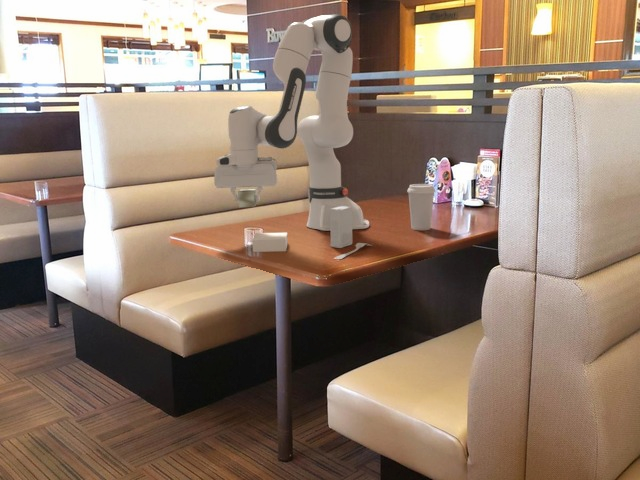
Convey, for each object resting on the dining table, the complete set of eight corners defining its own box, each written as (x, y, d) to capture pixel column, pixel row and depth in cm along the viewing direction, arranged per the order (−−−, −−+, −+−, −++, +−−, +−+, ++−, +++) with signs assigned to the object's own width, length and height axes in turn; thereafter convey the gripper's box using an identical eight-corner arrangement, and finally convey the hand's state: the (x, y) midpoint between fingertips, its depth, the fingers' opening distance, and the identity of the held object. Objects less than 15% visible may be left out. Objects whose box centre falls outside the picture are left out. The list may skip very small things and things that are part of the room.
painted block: (287, 244, 202) (287, 232, 201) (286, 252, 193) (285, 239, 192) (256, 245, 202) (255, 233, 202) (253, 253, 193) (252, 240, 192)
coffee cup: (438, 226, 222) (438, 184, 219) (430, 232, 214) (431, 187, 211) (411, 225, 226) (411, 183, 223) (403, 230, 218) (403, 186, 215)
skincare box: (342, 243, 201) (341, 205, 198) (353, 245, 198) (352, 206, 195) (329, 246, 196) (328, 208, 194) (341, 248, 194) (340, 209, 191)
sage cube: (256, 204, 210) (255, 189, 209) (254, 206, 205) (253, 191, 204) (241, 204, 210) (240, 189, 209) (238, 207, 205) (237, 192, 204)
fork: (331, 268, 182) (330, 259, 181) (366, 245, 198) (365, 237, 197) (340, 269, 180) (339, 260, 179) (374, 246, 197) (373, 238, 196)
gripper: (277, 155, 206) (280, 197, 210) (215, 158, 208) (218, 200, 211) (275, 157, 200) (278, 201, 203) (211, 160, 201) (214, 203, 205)
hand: (247, 200), depth 207 cm, fingers closed on sage cube, 5 cm apart
